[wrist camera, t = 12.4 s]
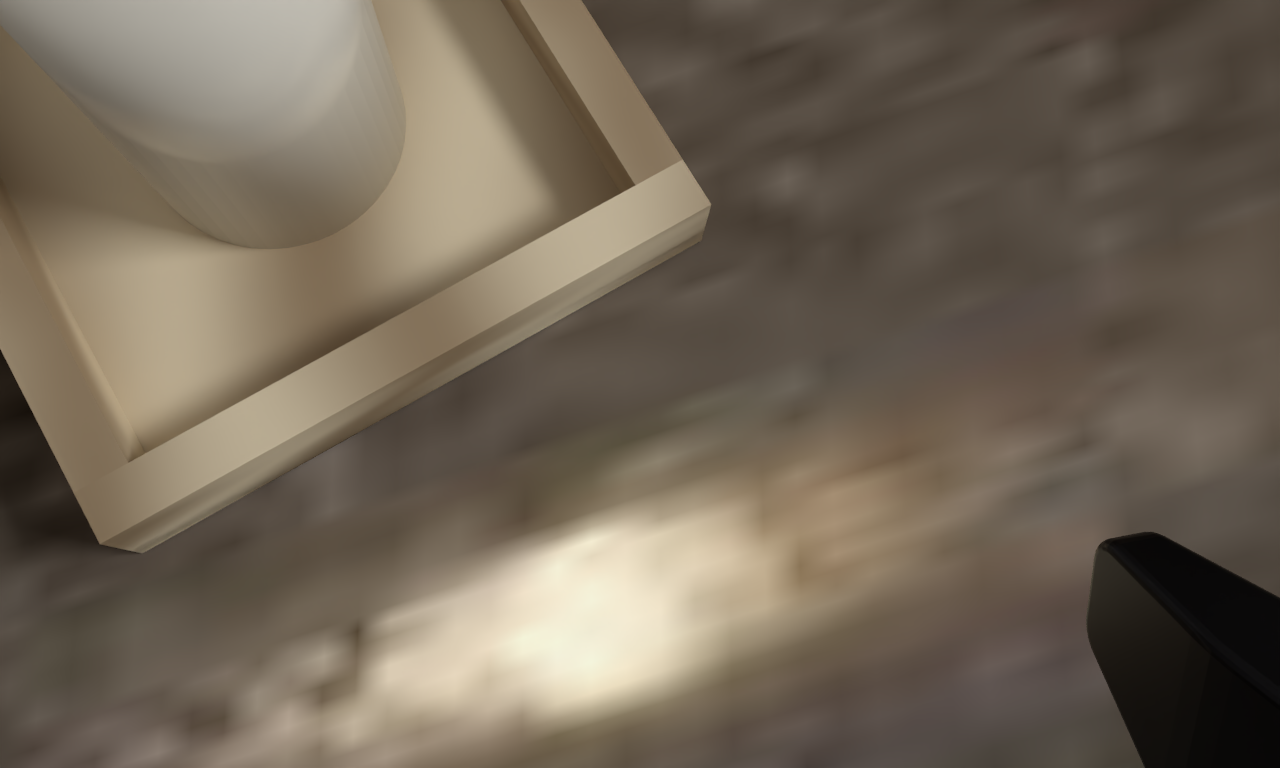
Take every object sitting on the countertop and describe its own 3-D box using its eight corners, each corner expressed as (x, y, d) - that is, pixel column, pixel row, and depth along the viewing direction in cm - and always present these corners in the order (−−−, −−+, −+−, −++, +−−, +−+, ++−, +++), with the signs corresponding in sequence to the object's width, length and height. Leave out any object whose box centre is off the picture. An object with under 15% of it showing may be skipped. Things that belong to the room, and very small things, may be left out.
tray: (142, 553, 22) (99, 544, 20) (-129, 29, 24) (-190, -25, 22) (700, 240, 24) (711, 204, 22) (407, -225, 26) (392, -297, 24)
